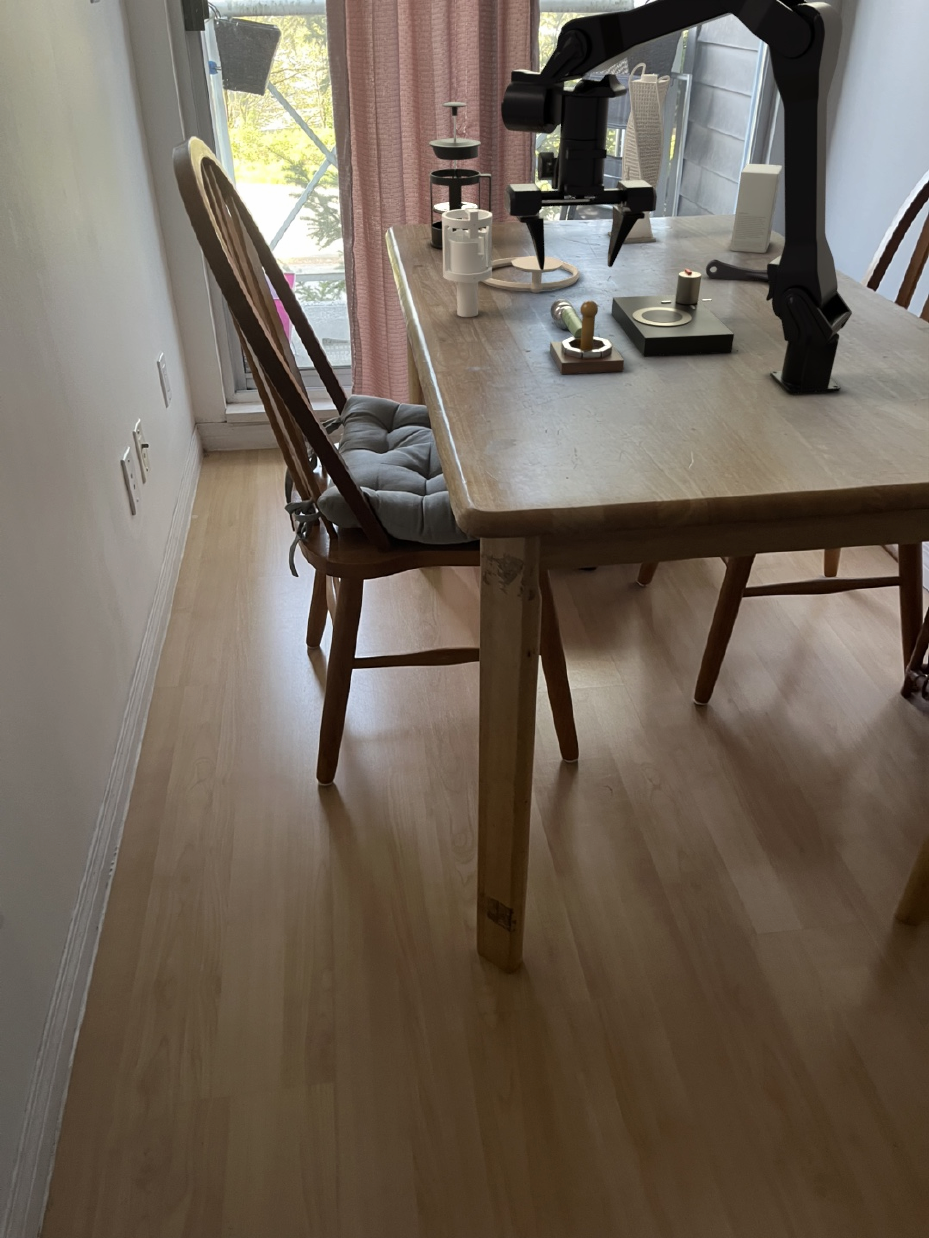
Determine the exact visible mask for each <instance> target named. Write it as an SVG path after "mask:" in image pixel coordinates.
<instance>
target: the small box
mask: <svg viewBox="0 0 929 1238" xmlns="http://www.w3.org/2000/svg"><path fill="white" fill-rule="evenodd" d="M782 171H783V165H778V164H765V163H746V164H745V166H744V167H743V168H742V170H741V171H740V179H739V186H738V194H737V201H736V206H735V207H736V208H735V214H734V220H733V221H734V222H733V228H732V229H733V230H732V235H731V243H730V251H731V252H743V253H744V252H745V253H756V254H757V253H758V254H766V252H767V251H768V248H769V246H770V242H771V237H772V231H773V225H774V218H775V212H776V206H777V201H778V195H779V189H780V183H781V176H782Z"/></svg>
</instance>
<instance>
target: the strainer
mask: <svg viewBox="0 0 929 1238" xmlns="http://www.w3.org/2000/svg"><path fill="white" fill-rule="evenodd" d="M457 218H462V219H457ZM441 221H442V238H443V250H442V277H443V279H445V280H447V281H450V282H454V283H456V298H457V299H456V304H457V305H456V310H457V311H456V314H457V316H459V317H463V318H473V317H476V316H478V315H479V282H482V281H484V280H487V279H489V278H492V277H493V268H492V261H493V259H492V256H493V255H492V254H493V253H492V252H493V250H492V249H493V213H492V211H491V212H489V210H485V209H480V210H479V208H478V209H475V208H474V207H466V208H465V209H457V210H451V211H447V212H444V213H443V214H441ZM448 226H449V227H448ZM482 227H486V228H482ZM452 228H458V229H456V231H455V232H453V229H452ZM478 228H480V230H478ZM463 229H468V230H463Z"/></svg>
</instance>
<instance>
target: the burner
mask: <svg viewBox="0 0 929 1238" xmlns="http://www.w3.org/2000/svg"><path fill="white" fill-rule="evenodd" d="M633 318H634V319H635V320H636V321H638V322H640V323H643V324H647V325H652V326H661V327H672V326H680V325H684V324H687V323H689V322H690V321H691V319H692V317H691V315H690V314H688V313H686V312H684V311H681V310H678V309H673V308H663V307H653V308H644V309H640V310H637V311H635V312H634V313H633Z"/></svg>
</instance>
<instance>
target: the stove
mask: <svg viewBox="0 0 929 1238" xmlns="http://www.w3.org/2000/svg"><path fill="white" fill-rule="evenodd" d="M675 299H676V294H663V295H662V294H661V295H660V294H659V295H640V296H639V295H638V296H635V295H634V296H617V297H616V296H614V297H612V302H611V303H612V304H611V316H612V317H613V318H614V320H615V321H616V323H618V325H619V326H620V328H621V329H622V330H623V331H624V333H625V334H626V335H627V337H628V338H629V340H630V341H631V342H632V343H633V344H634V346H635V347H636V349H637V350H638V352H640V354H641V355H642V356H643V357H659V356H660V357H662V356H680V355H683V356H684V355H703V354H706V355H707V354H727V353H728V354H729V353H732V351H733V345H734V344H733V343H734V337H735V333H734V332H732V330H731V329H730V328H728V326H727V325H726V324H725V323H724V322H722V321H721V320H720V319H719V318H718V317H717V316H716V315H715V314H714V313H713V312H712V311H711V310H710V309H709V308H708V307H707V306H706V305H705V304H703V303H702V302H712V301H713V299H712V298H708V299H704V298H703V299H701V300H699V299H698V302H697V303H696V304H689V305H688V304H680V303H677V302H676V301H675ZM701 301H702V302H701ZM653 307H663V308H673V309H678V310H681V311H684V312H686V313H688V314H690V315H691V317H692V319H691V321H690V322H689V323H687V324H684V325H680V326H672V327H661V326H652V325H647V324H643V323H640V322H638V321H636V320H635V319H634V318H633V313H634V312H635V311H637V310H640V309H644V308H653Z"/></svg>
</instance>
